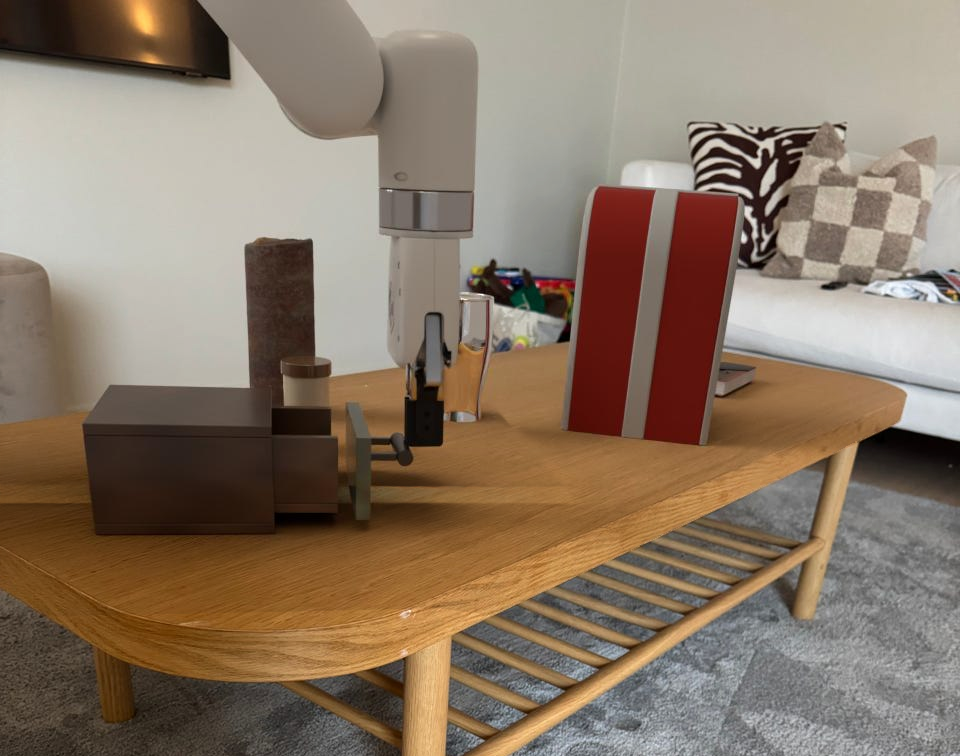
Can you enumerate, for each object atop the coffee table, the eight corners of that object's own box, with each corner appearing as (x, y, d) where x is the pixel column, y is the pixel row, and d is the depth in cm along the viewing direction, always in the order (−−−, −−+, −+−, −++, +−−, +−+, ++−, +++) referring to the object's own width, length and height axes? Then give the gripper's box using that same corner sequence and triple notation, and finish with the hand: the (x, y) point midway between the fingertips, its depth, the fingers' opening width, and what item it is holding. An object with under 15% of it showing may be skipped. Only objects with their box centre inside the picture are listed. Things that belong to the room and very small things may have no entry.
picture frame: (753, 382, 152) (627, 362, 161) (756, 366, 151) (629, 347, 160) (722, 398, 139) (587, 375, 148) (725, 381, 138) (588, 359, 147)
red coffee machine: (575, 402, 130) (598, 183, 118) (706, 416, 128) (743, 193, 116) (559, 429, 116) (584, 182, 104) (707, 446, 113) (750, 195, 101)
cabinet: (274, 482, 90) (271, 388, 86) (274, 534, 78) (271, 426, 74) (119, 482, 87) (109, 384, 83) (95, 535, 75) (81, 423, 71)
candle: (295, 439, 104) (291, 241, 95) (237, 429, 106) (227, 234, 97) (328, 424, 111) (327, 238, 102) (273, 415, 113) (267, 232, 104)
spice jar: (283, 471, 93) (280, 364, 89) (283, 457, 98) (280, 355, 93) (333, 471, 94) (332, 366, 90) (330, 458, 98) (330, 356, 94)
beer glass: (418, 431, 111) (423, 294, 104) (442, 419, 117) (448, 289, 110) (473, 440, 109) (482, 301, 102) (495, 428, 114) (505, 295, 108)
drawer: (399, 475, 91) (401, 403, 88) (417, 519, 80) (420, 438, 77) (220, 474, 88) (216, 399, 85) (213, 520, 77) (208, 435, 74)
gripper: (370, 209, 82) (372, 423, 90) (389, 220, 68) (390, 469, 77) (457, 212, 83) (451, 423, 91) (491, 223, 70) (481, 468, 78)
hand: (423, 443), depth 84 cm, fingers closed
